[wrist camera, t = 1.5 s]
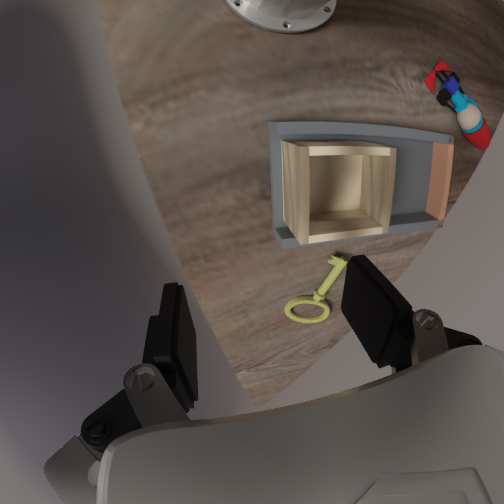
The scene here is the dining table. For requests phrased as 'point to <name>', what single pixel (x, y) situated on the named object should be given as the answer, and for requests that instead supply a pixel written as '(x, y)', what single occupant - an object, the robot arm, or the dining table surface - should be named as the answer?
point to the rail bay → (406, 171)
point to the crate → (337, 188)
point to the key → (317, 294)
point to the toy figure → (461, 106)
